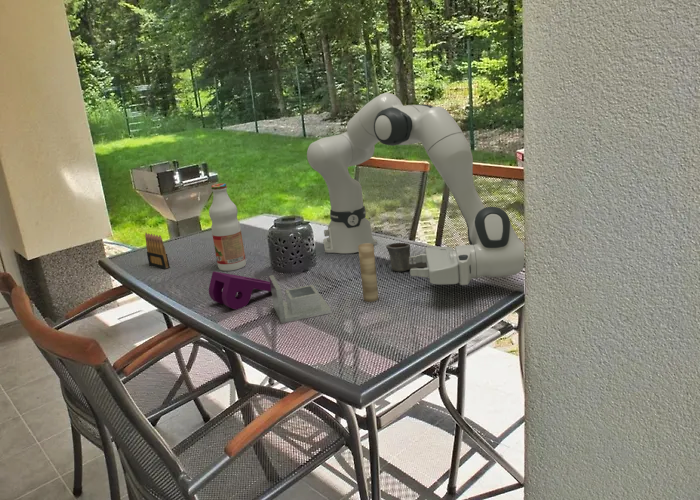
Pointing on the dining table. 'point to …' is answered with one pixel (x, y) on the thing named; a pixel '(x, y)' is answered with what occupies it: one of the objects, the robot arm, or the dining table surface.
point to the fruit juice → (226, 230)
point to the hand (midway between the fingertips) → (409, 266)
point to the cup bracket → (297, 302)
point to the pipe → (402, 257)
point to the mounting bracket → (234, 289)
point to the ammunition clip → (156, 251)
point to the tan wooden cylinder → (368, 272)
